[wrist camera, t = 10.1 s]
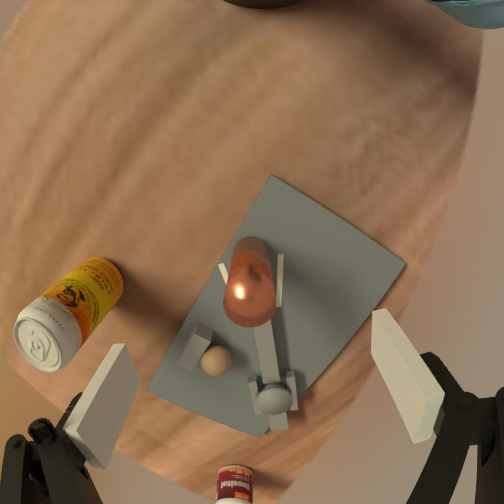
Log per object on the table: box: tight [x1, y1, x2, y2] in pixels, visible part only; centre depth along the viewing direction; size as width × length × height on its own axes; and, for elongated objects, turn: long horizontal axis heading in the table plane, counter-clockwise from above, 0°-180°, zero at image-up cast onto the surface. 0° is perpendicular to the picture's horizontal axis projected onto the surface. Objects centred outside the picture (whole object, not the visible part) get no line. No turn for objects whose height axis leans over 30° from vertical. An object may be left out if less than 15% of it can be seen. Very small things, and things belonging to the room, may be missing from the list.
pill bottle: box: [215, 465, 253, 504], centre depth 41 cm, size 6×6×11 cm
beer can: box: [13, 257, 123, 372], centre depth 28 cm, size 6×6×15 cm
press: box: [147, 175, 406, 437], centre depth 35 cm, size 32×18×5 cm, turn 149°
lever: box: [223, 236, 298, 431], centre depth 30 cm, size 27×6×12 cm, turn 9°
